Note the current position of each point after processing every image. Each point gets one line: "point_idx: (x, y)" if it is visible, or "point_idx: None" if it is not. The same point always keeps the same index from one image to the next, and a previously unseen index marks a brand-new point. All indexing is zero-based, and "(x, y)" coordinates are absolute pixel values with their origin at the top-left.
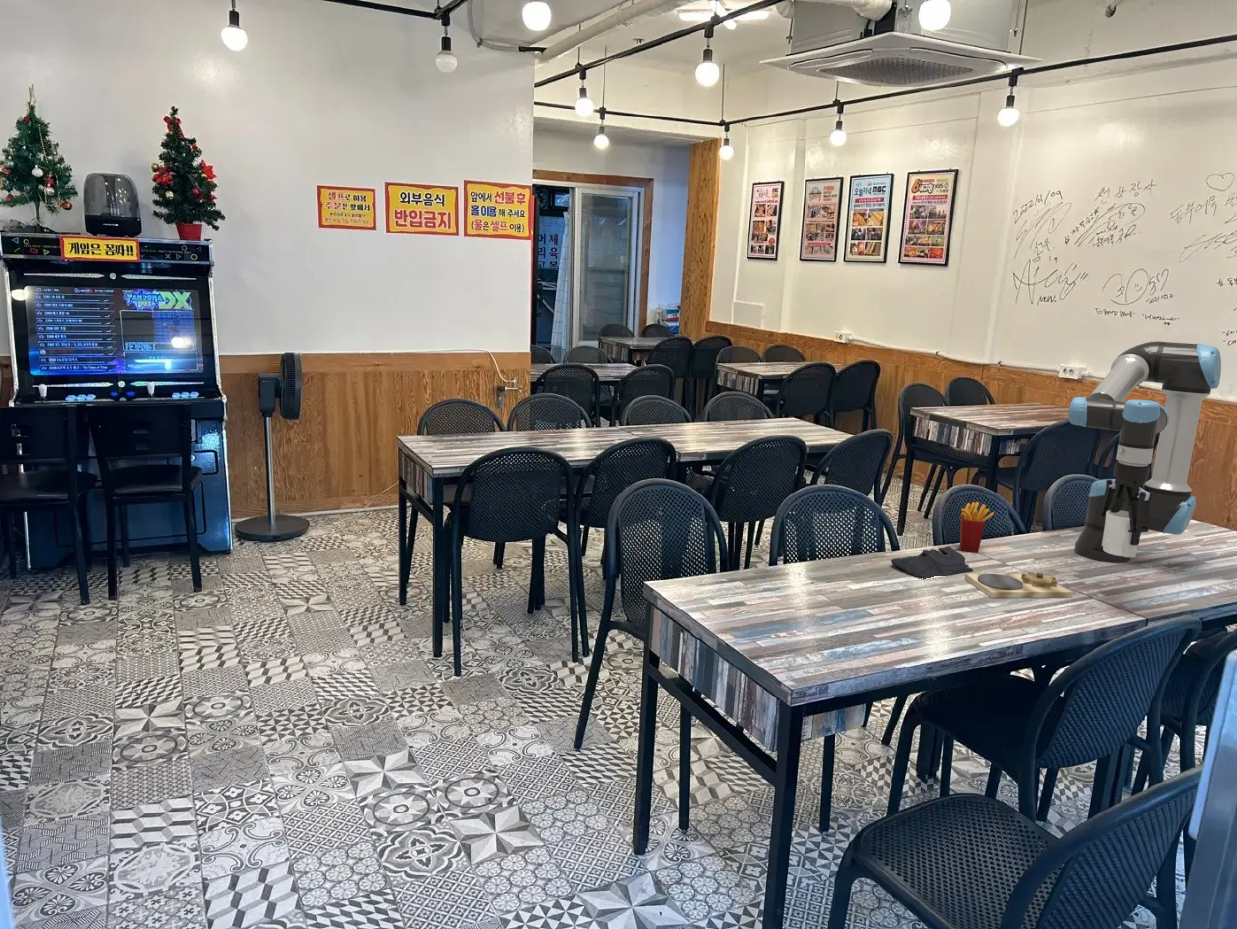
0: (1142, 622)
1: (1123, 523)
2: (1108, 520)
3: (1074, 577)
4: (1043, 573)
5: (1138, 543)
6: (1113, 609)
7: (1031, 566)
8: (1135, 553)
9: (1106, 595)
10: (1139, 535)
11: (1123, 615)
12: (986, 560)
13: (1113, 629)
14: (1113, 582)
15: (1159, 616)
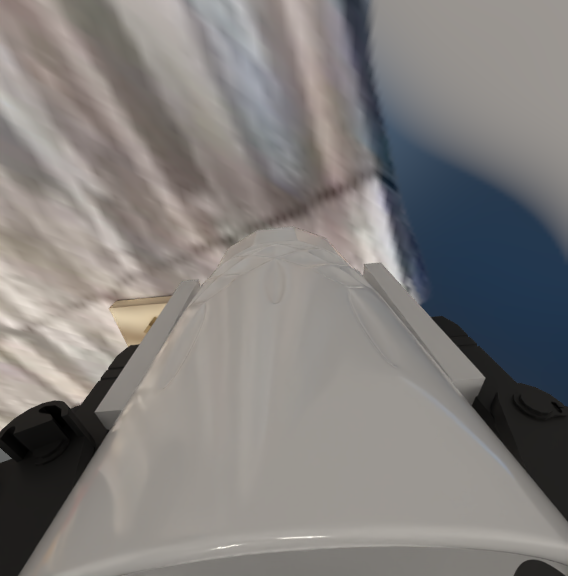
0: (400, 205)
1: (435, 547)
2: (298, 567)
3: (54, 199)
4: (146, 328)
5: (458, 328)
6: (313, 230)
7: (3, 278)
8: (388, 275)
9: (205, 186)
10: (504, 379)
11: (353, 227)
12: (15, 358)
13: (422, 295)
14: (46, 70)
15: (368, 117)
